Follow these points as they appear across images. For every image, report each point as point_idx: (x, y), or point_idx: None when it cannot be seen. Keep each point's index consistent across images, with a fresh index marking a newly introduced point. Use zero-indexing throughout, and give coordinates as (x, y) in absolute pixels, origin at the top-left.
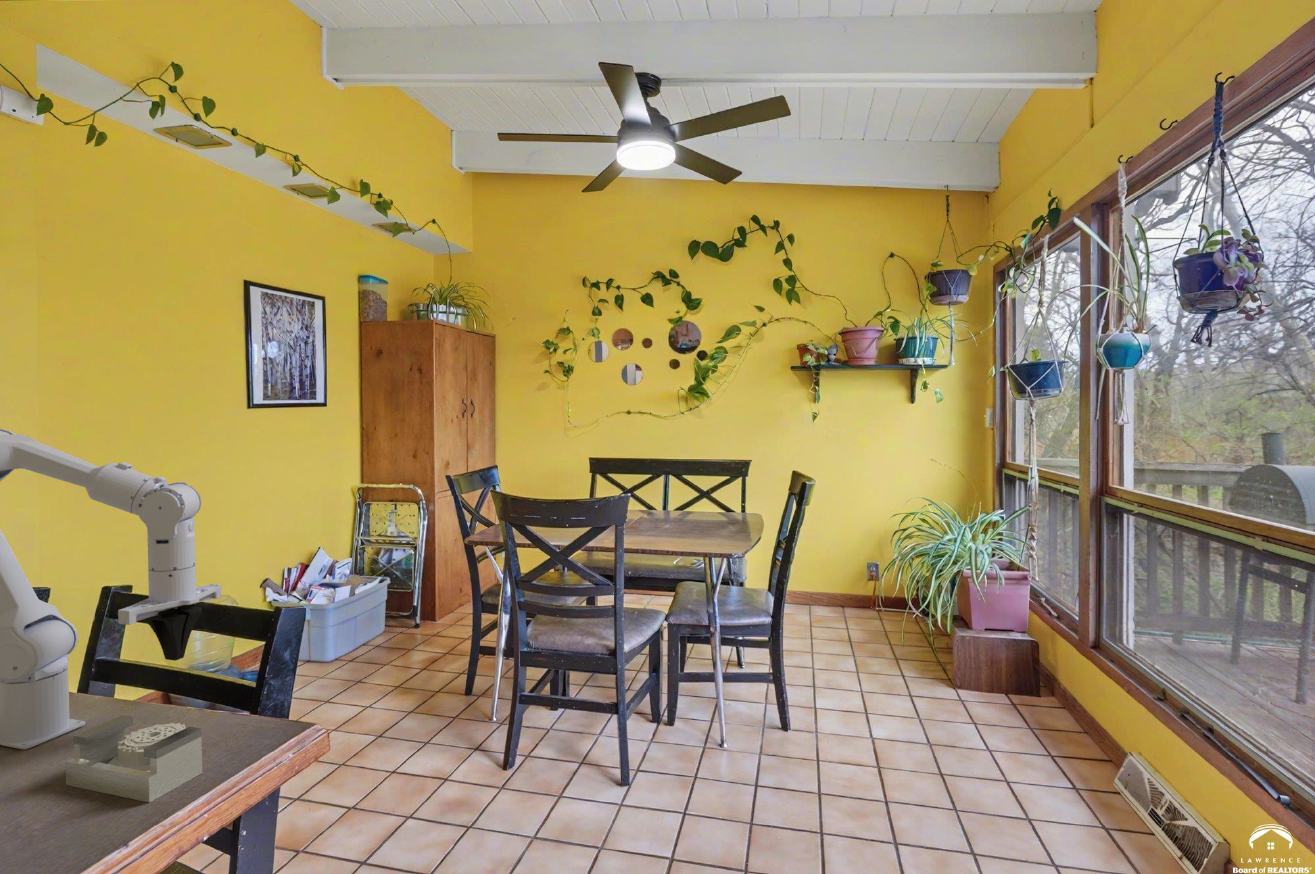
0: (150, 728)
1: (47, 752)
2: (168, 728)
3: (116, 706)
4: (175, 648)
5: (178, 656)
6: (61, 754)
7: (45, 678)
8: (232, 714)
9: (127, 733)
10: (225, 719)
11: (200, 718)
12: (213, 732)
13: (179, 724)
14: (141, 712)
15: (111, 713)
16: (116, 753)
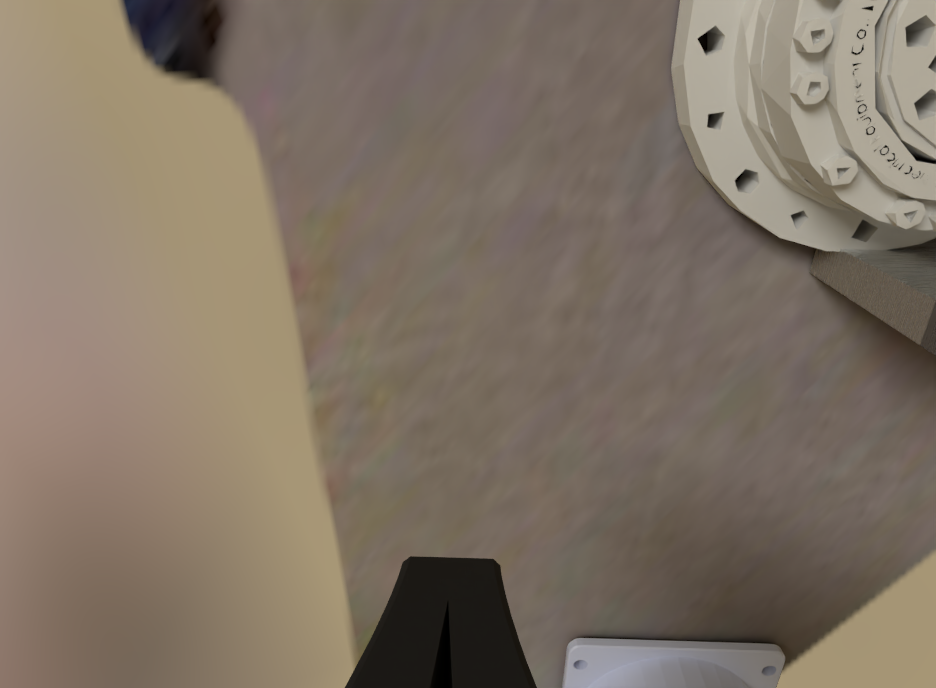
0: (918, 146)
1: (780, 575)
2: (917, 14)
3: None
4: (523, 662)
5: (477, 576)
6: (792, 522)
7: None
8: (278, 157)
9: (901, 277)
10: (339, 141)
11: (377, 283)
12: (487, 63)
13: (818, 18)
14: None
15: None
16: (910, 254)
